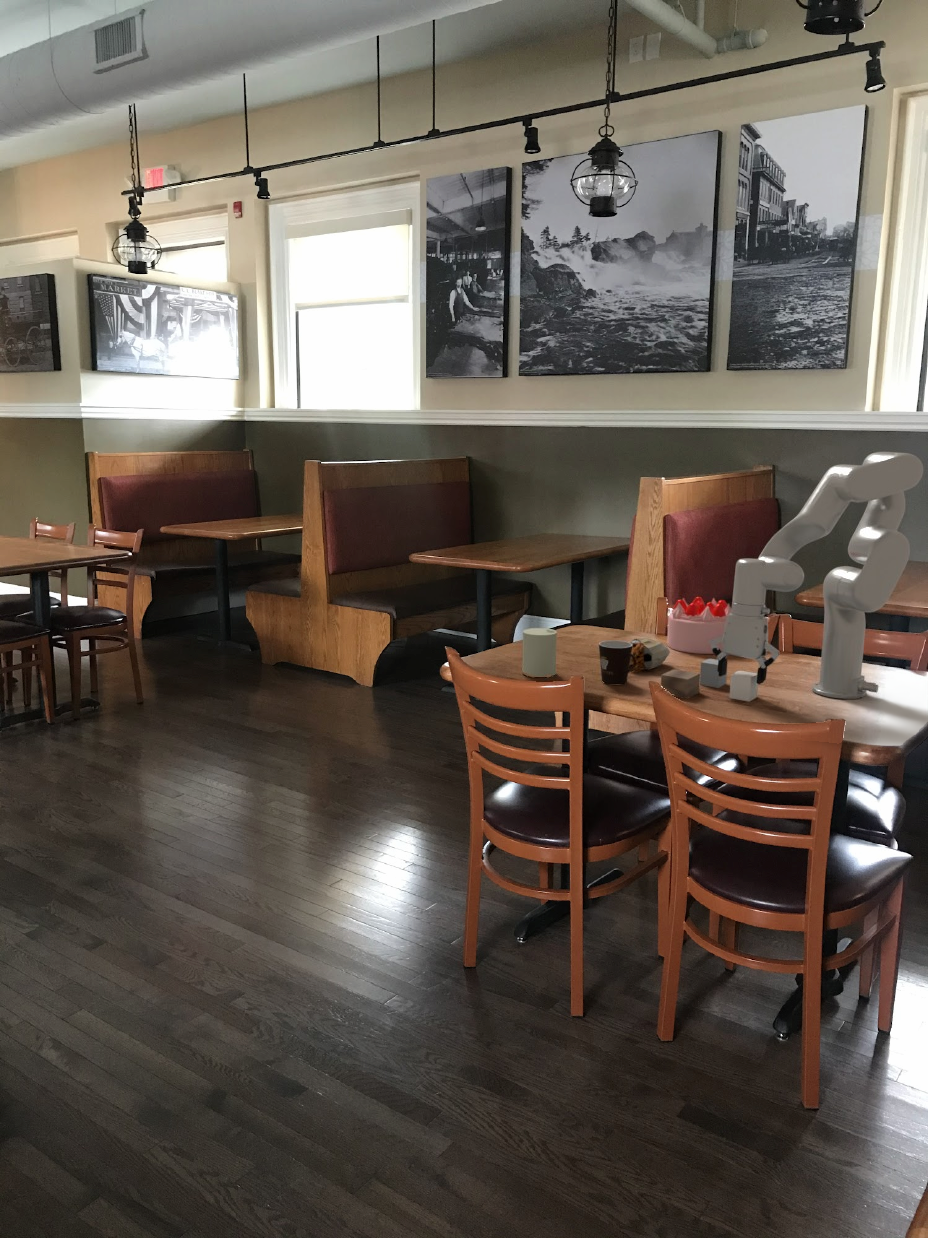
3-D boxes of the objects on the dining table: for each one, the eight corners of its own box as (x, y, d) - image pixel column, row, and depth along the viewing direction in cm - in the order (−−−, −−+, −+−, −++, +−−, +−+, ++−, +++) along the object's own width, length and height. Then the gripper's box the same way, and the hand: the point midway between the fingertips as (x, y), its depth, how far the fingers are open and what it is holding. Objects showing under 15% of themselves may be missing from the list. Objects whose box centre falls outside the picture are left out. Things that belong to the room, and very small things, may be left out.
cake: (655, 648, 290) (657, 601, 287) (686, 637, 305) (688, 592, 302) (716, 658, 277) (718, 609, 275) (745, 646, 292) (748, 599, 290)
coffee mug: (594, 677, 255) (595, 640, 253) (626, 677, 256) (628, 640, 254) (603, 689, 244) (605, 650, 242) (637, 689, 244) (639, 650, 242)
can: (558, 678, 255) (559, 633, 253) (522, 677, 255) (523, 633, 253) (554, 669, 264) (555, 626, 262) (520, 669, 264) (521, 626, 262)
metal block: (698, 693, 242) (699, 673, 241) (686, 699, 236) (687, 679, 235) (673, 688, 246) (674, 669, 245) (660, 694, 241) (661, 674, 240)
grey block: (726, 684, 250) (727, 661, 249) (718, 688, 246) (719, 665, 245) (708, 680, 253) (709, 658, 252) (699, 684, 249) (700, 662, 248)
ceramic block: (757, 697, 238) (758, 673, 237) (749, 701, 234) (750, 677, 233) (737, 693, 241) (739, 670, 240) (729, 698, 237) (730, 674, 236)
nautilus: (643, 682, 253) (594, 675, 262) (681, 661, 269) (633, 656, 279) (642, 653, 251) (593, 647, 261) (680, 634, 268) (632, 629, 277)
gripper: (788, 613, 231) (781, 683, 234) (720, 603, 241) (713, 670, 244) (777, 617, 225) (769, 688, 228) (707, 607, 235) (701, 675, 239)
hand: (740, 679), depth 236 cm, fingers open, 9 cm apart
